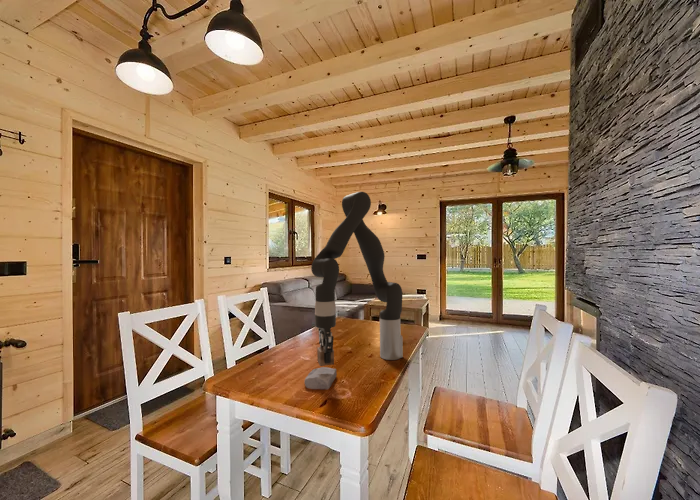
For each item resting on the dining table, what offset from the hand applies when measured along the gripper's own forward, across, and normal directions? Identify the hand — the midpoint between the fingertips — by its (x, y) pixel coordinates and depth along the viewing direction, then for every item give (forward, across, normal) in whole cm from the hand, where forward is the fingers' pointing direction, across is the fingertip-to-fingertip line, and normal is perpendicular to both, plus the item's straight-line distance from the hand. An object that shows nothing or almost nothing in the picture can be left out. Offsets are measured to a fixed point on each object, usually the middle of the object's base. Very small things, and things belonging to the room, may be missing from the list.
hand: (325, 360), depth 104 cm
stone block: (+8, +1, +2) cm, 9 cm away
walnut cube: (+1, 0, 0) cm, 1 cm away
